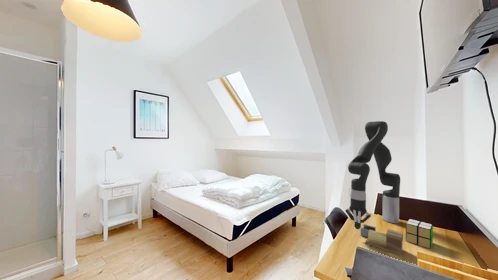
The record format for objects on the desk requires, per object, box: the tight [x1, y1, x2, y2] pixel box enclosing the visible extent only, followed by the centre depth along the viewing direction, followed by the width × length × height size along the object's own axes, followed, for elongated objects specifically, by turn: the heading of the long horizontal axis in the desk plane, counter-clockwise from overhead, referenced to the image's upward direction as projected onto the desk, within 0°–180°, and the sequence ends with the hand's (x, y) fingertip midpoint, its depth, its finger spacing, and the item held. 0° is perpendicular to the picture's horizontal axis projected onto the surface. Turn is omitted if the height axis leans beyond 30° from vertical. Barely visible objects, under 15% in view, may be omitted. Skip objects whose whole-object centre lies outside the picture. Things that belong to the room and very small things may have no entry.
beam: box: [365, 228, 404, 257], centre depth 98 cm, size 7×15×9 cm, turn 47°
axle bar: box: [368, 230, 404, 247], centre depth 97 cm, size 4×14×5 cm, turn 47°
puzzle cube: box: [405, 218, 434, 250], centre depth 103 cm, size 10×10×10 cm
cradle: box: [360, 224, 377, 239], centre depth 110 cm, size 8×6×4 cm
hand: (357, 228), depth 106 cm, fingers closed
